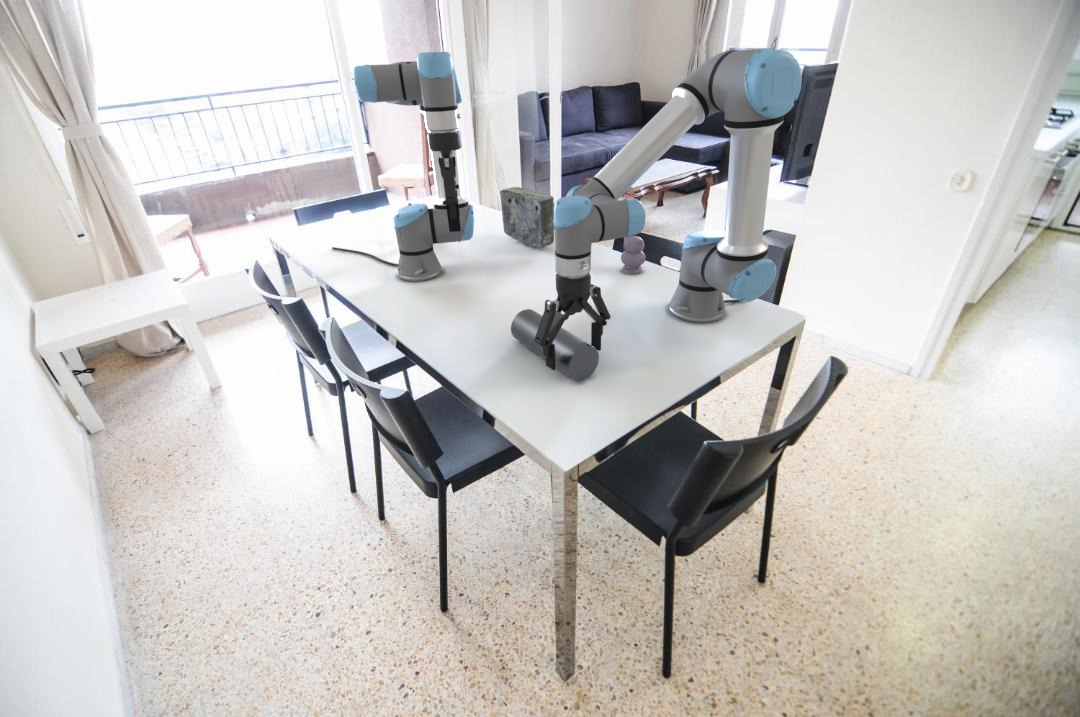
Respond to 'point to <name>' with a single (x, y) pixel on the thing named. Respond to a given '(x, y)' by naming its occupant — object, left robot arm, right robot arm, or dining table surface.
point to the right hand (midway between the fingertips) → (574, 357)
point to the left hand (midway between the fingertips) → (454, 223)
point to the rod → (557, 346)
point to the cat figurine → (633, 255)
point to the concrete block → (528, 216)
